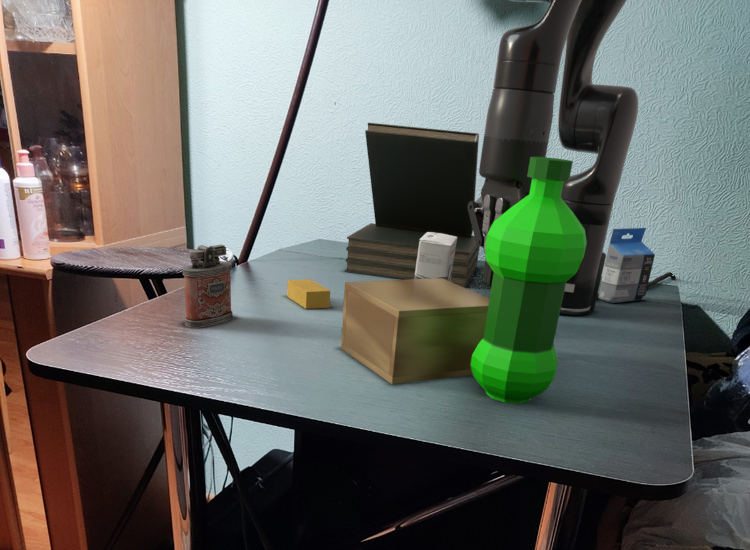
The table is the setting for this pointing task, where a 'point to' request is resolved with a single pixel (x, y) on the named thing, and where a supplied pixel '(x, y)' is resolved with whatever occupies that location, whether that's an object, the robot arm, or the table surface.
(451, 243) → the ink box
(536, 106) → the robot arm
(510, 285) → the plastic bottle
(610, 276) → the label tape box
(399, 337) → the tan rectangular box
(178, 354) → the table surface
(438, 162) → the stack of books
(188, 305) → the lighter
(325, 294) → the yellow block
